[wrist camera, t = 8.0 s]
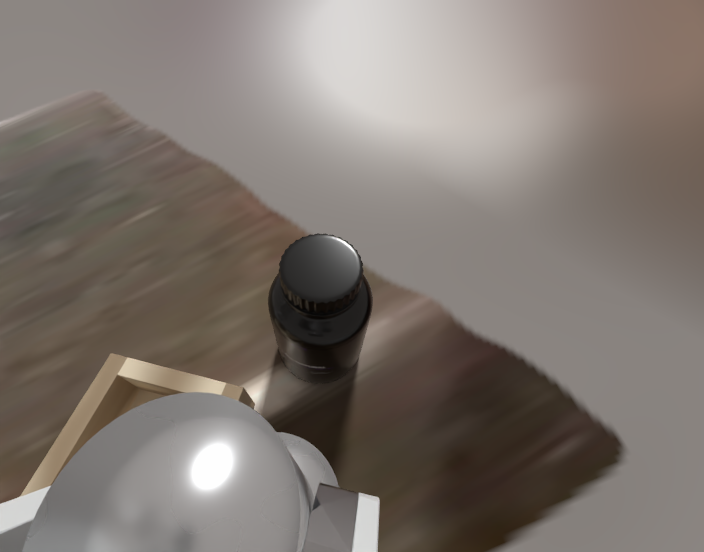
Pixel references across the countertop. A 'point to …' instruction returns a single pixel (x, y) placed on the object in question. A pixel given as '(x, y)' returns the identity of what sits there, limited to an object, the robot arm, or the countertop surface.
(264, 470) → the metal coffee tamper
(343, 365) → the supplement bottle
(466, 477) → the countertop surface
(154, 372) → the open wooden box
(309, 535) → the robot arm
